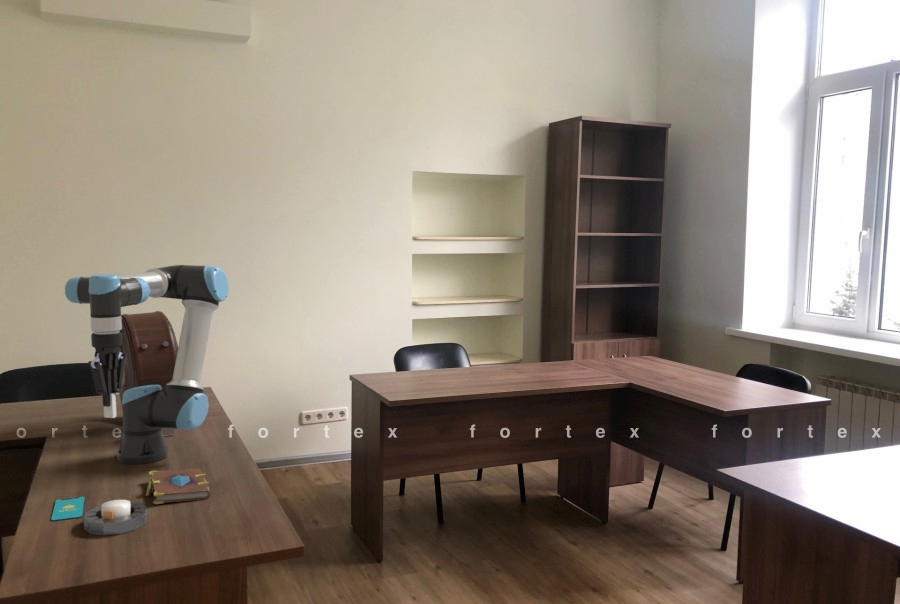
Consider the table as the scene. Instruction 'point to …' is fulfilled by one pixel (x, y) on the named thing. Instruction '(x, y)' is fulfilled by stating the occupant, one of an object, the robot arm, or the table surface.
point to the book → (178, 486)
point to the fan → (148, 352)
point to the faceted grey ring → (115, 521)
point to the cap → (115, 509)
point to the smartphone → (68, 509)
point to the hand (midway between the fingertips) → (110, 416)
